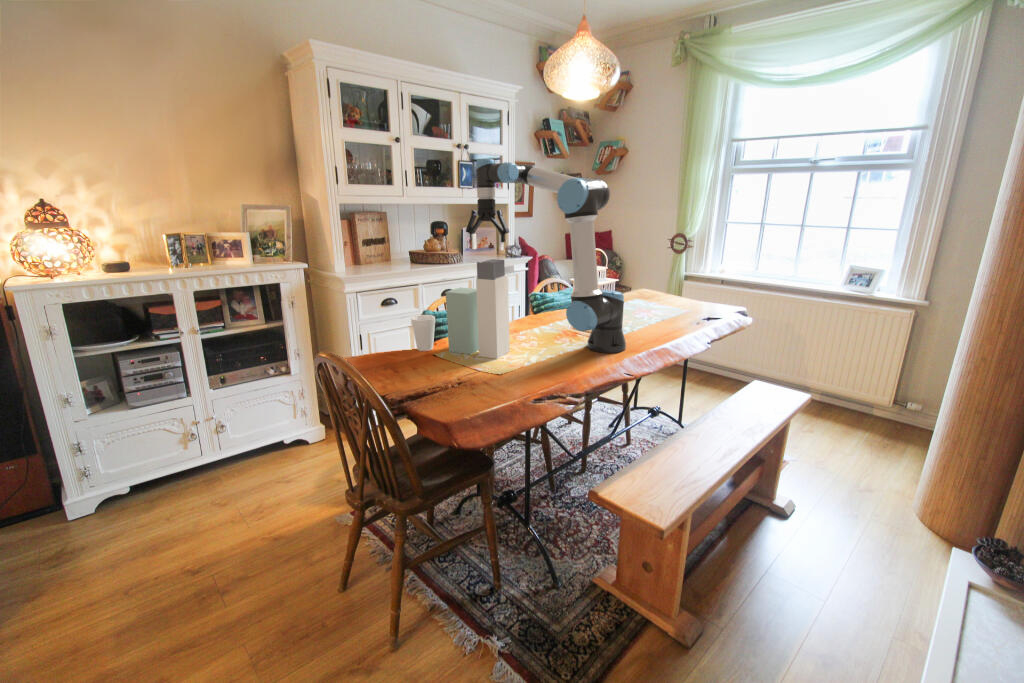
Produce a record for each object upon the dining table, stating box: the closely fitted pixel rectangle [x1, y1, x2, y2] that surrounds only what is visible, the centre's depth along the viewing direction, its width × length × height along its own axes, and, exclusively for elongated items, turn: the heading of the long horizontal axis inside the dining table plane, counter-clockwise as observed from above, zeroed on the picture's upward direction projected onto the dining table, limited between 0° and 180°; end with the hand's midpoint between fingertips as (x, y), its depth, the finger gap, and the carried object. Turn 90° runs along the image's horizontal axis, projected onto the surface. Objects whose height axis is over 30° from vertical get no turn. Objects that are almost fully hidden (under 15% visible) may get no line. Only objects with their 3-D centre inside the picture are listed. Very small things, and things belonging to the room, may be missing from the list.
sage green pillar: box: [445, 287, 479, 355], centre depth 186 cm, size 10×10×24 cm
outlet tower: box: [475, 261, 511, 360], centre depth 179 cm, size 8×10×36 cm
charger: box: [482, 258, 515, 279], centre depth 180 cm, size 5×18×6 cm, turn 153°
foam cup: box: [410, 314, 436, 352], centre depth 190 cm, size 10×9×13 cm
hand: (487, 249), depth 205 cm, fingers open, 13 cm apart
